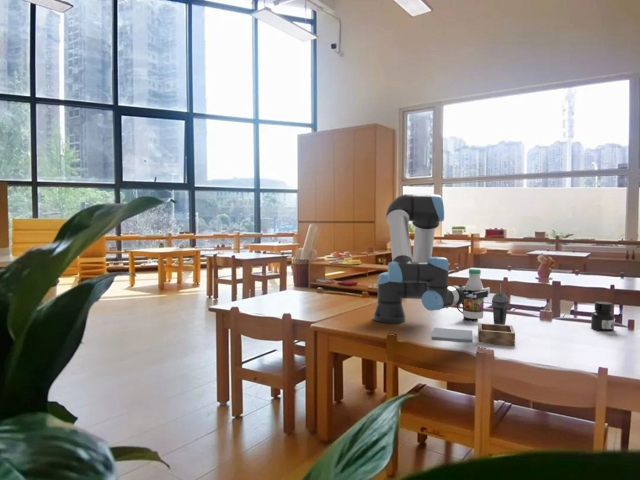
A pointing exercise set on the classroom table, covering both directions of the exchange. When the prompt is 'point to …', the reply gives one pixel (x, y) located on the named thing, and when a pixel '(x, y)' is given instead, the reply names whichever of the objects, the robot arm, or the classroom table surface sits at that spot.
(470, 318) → the coffee mug
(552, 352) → the classroom table surface
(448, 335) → the mat
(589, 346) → the classroom table surface
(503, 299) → the beverage cup
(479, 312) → the milk bottle
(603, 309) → the ink bottle
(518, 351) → the classroom table surface
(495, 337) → the caddy
